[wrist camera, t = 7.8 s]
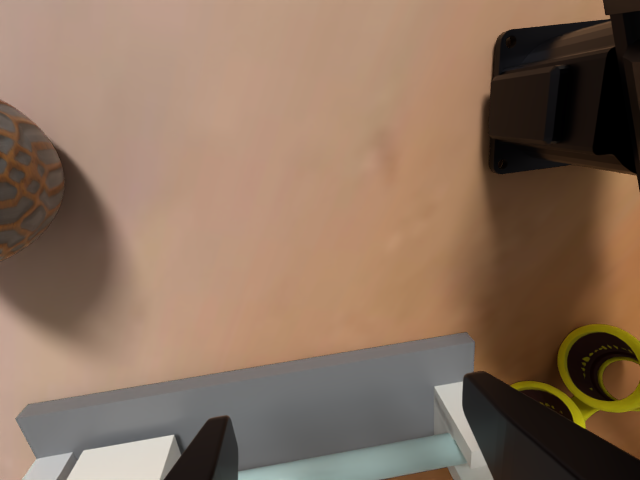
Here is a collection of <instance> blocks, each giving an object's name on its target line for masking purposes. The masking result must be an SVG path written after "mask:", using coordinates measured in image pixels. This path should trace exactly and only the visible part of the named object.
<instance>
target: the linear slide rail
mask: <svg viewBox="0 0 640 480" xmlns="http://www.w3.org/2000/svg"><path fill="white" fill-rule="evenodd" d="M474 351H475V341H474V340H473V339H472V338H471V337H470V336H469V335H468V333H467V332H465V333H459V334H453V335H447V336H441V337H435V338H429V339H422V340H416V341H410V342H404V343H398V344H392V345H386V346H380V347H374V348H368V349H362V350H356V351H350V352H344V353H338V354H331V355H325V356H319V357H313V358H307V359H301V360H295V361H289V362H283V363H277V364H271V365H265V366H259V367H253V368H247V369H240V370H234V371H228V372H222V373H216V374H210V375H204V376H198V377H192V378H186V379H180V380H174V381H168V382H162V383H156V384H149V385H143V386H137V387H131V388H125V389H119V390H113V391H107V392H101V393H95V394H89V395H83V396H77V397H71V398H65V399H58V400H52V401H46V402H40V403H34V404H28V405H27V406H26V407H25V408H24V409H23V410H22V412H21V413H20V414H19V415H18V416H17V417H16V421H17V423H18V425H19V427H20V428H21V430H22V432H23V434H24V436H25V438H26V440H27V442H28V444H29V445H30V447H31V449H32V451H33V453H34V455H35V457H36V460H35V462H34V463H33V464H32V466H31V467H30V469H29V470H28V472H27V473H26V474H25V476H24V477H23V479H22V480H67V478H68V476H69V475H70V473H71V471H72V469H73V468H74V466H75V464H76V462H77V461H78V459H79V457H80V455H81V454H82V452H83V451H84V450H89V449H95V448H101V447H107V446H112V445H118V444H124V443H129V442H135V441H141V440H147V439H152V438H158V437H164V436H169V435H175V438H176V441H177V444H178V447H179V450H180V453H181V455H182V454H183V452H184V451H185V450H186V448H187V447H188V445H189V444H190V443H191V441H192V440H193V439H194V437H195V436H196V435H197V433H198V432H199V430H200V429H201V428H202V426H203V425H204V424H205V422H206V421H207V420H208V419H210V418H213V417H218V416H224V415H227V416H229V417H230V418H231V421H232V425H233V429H234V433H235V437H236V440H237V445H238V455H239V458H238V480H383V479H388V478H394V477H399V476H404V475H409V474H415V473H420V472H425V471H430V470H435V469H441V468H446V467H447V468H448V470H449V472H450V474H451V476H452V478H453V480H494V479H493V477H492V475H491V473H490V470H489V468H488V466H487V464H486V462H485V459H484V457H483V455H482V453H481V450H480V448H479V446H478V444H477V442H476V439H475V437H474V435H473V433H472V431H471V428H470V426H469V424H468V422H467V419H466V417H465V415H464V412H463V408H462V389H463V377H464V375H465V374H467V373H472V372H473V371H474Z"/></svg>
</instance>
